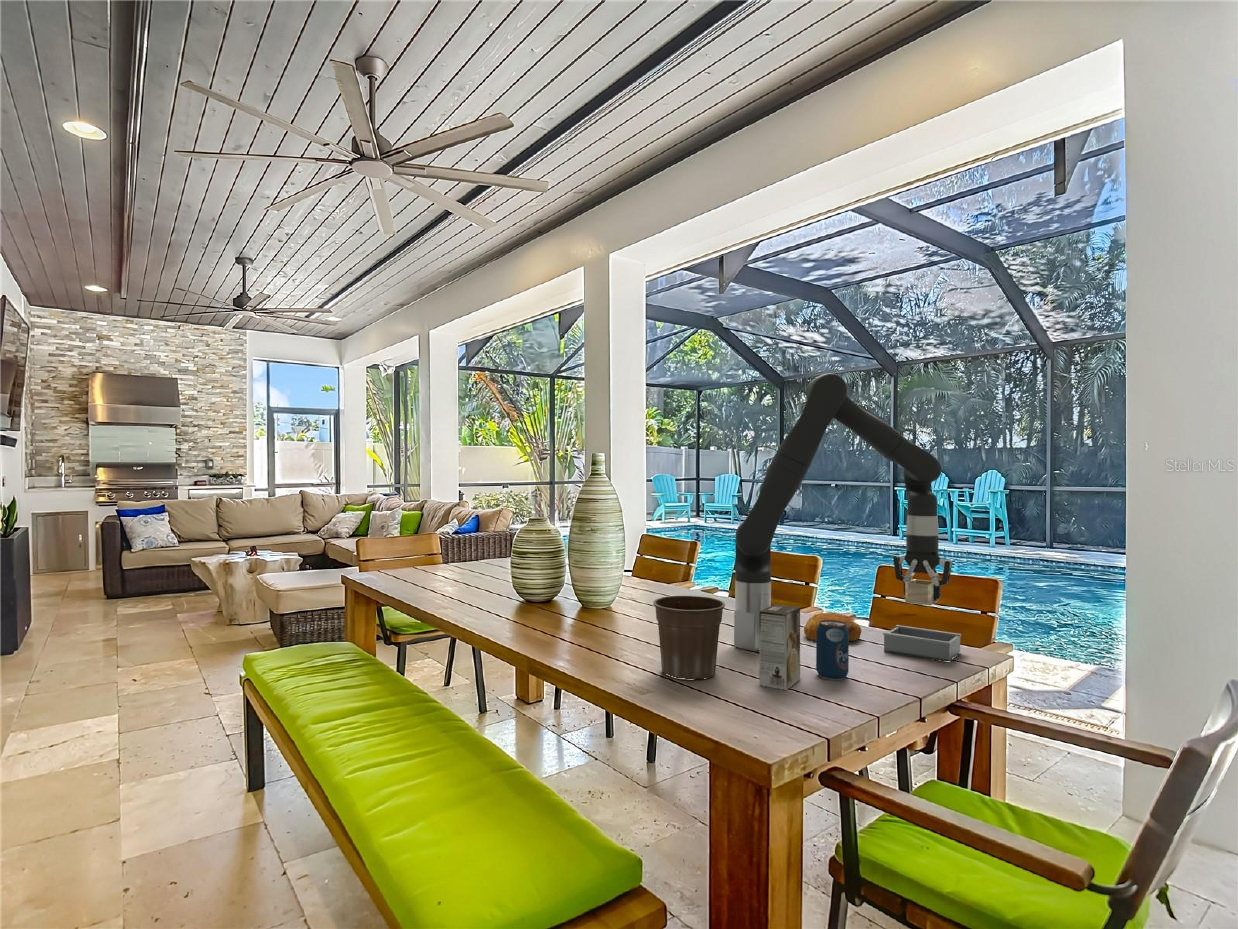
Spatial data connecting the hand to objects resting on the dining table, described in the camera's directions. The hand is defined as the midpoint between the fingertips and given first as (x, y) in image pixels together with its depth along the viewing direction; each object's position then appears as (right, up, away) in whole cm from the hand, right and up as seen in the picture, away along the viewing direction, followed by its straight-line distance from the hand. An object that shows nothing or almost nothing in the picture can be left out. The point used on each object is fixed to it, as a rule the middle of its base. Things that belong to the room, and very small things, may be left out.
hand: (922, 598), depth 173 cm
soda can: (-30, -13, -21) cm, 39 cm away
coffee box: (-43, -13, -26) cm, 52 cm away
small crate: (0, -1, 0) cm, 1 cm away
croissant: (-19, -14, +15) cm, 28 cm away
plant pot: (-62, -13, -20) cm, 66 cm away
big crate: (0, -14, 0) cm, 14 cm away
